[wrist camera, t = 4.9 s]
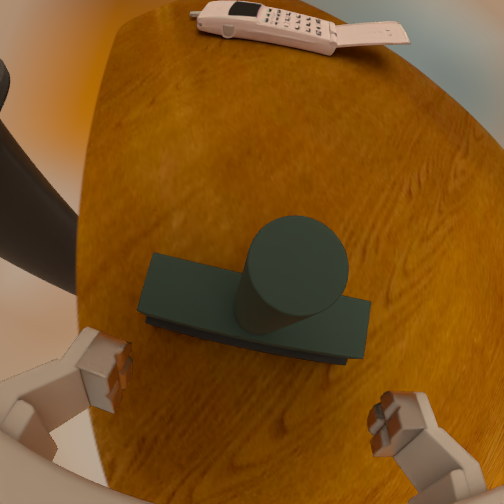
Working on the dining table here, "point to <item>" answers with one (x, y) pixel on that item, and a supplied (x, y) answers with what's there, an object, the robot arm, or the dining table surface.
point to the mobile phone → (292, 27)
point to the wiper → (266, 296)
